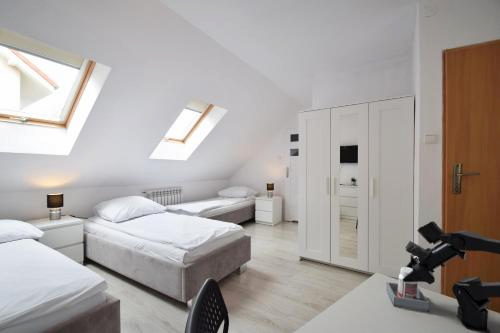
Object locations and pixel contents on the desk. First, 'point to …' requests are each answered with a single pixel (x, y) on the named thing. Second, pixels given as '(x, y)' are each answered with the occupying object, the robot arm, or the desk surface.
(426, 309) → the slate tray
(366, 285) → the desk surface
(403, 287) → the pill bottle
